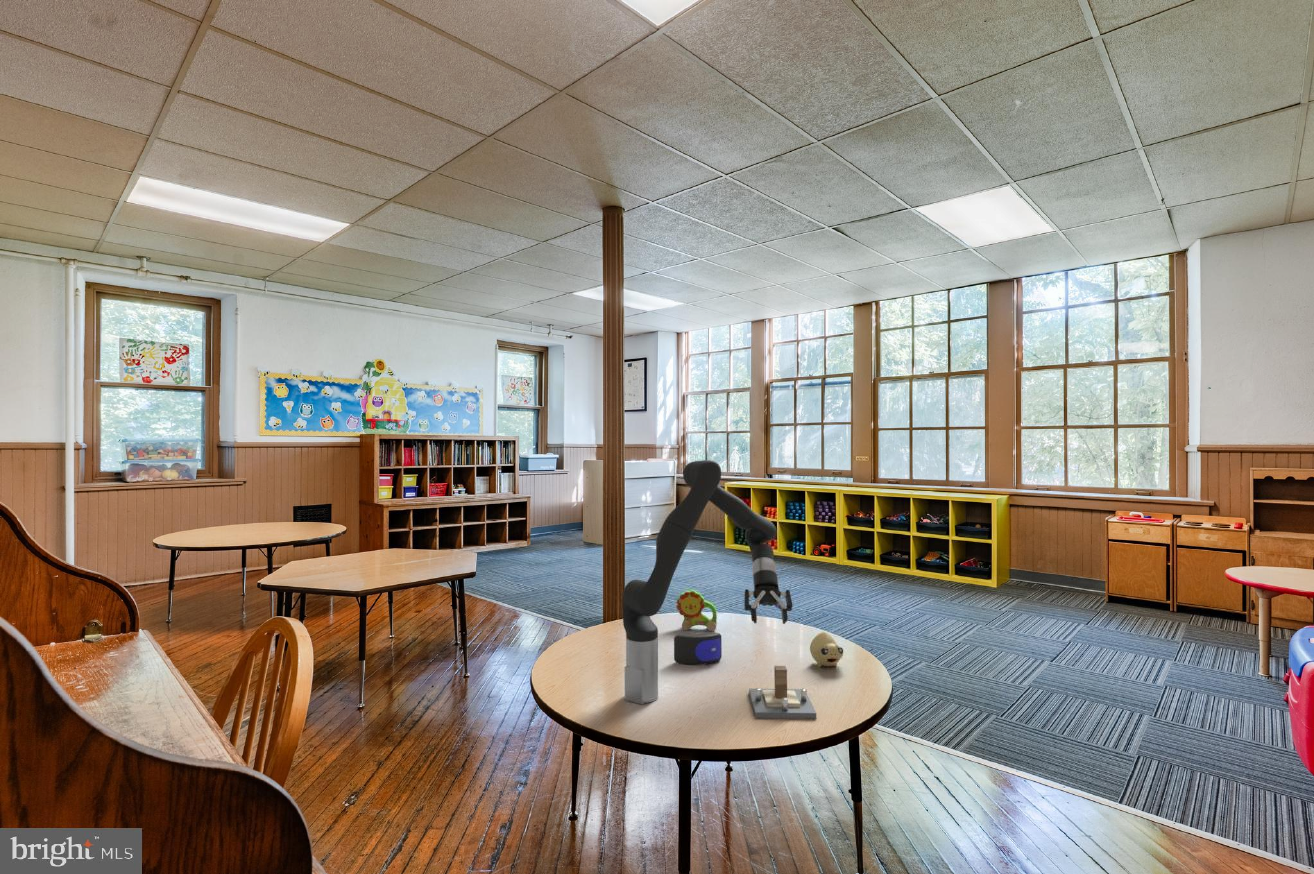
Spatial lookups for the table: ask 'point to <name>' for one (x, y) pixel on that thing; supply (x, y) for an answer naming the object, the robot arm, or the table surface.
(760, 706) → the base board
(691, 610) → the toy lion
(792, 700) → the handled board
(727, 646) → the table surface
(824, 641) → the yellow toy animal
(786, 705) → the standoff pins
